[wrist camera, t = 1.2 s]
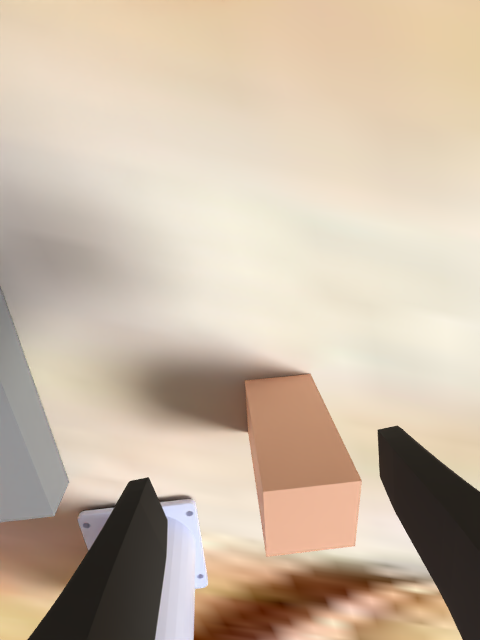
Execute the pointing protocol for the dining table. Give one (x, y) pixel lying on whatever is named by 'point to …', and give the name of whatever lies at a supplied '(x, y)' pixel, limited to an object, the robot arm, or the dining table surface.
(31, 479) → the socket board
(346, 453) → the peg
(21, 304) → the dining table surface
